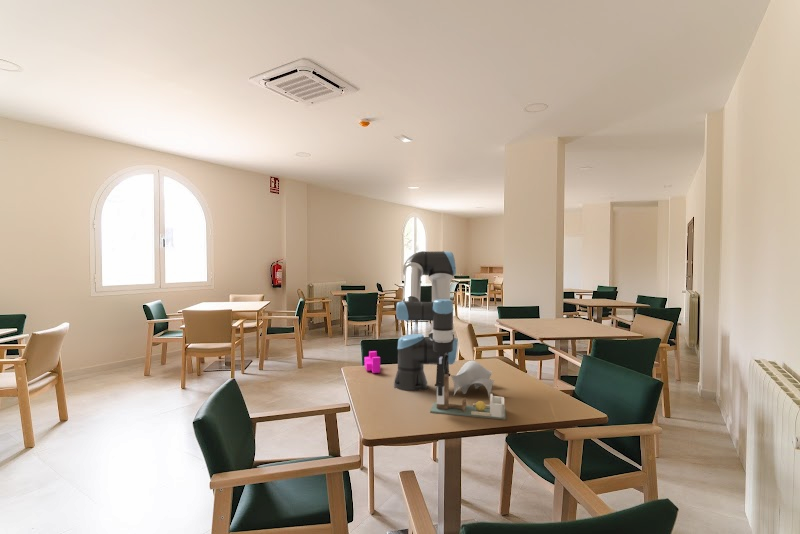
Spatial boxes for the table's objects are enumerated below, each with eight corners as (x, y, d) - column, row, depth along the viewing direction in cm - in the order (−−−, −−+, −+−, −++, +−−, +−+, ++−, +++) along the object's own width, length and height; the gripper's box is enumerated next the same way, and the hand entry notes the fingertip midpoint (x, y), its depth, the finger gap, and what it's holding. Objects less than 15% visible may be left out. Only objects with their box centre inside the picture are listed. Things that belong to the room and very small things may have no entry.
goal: (489, 416, 142) (489, 401, 142) (490, 407, 150) (490, 393, 150) (504, 417, 141) (504, 402, 141) (504, 408, 149) (504, 394, 149)
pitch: (430, 412, 147) (430, 408, 147) (434, 403, 156) (434, 399, 156) (505, 419, 140) (505, 415, 140) (505, 410, 149) (505, 406, 149)
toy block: (364, 365, 213) (364, 351, 213) (376, 364, 214) (376, 350, 214) (367, 373, 198) (367, 358, 198) (380, 372, 200) (380, 357, 200)
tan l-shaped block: (436, 408, 148) (436, 376, 148) (438, 403, 154) (438, 372, 153) (464, 411, 146) (464, 378, 145) (466, 406, 151) (466, 374, 151)
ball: (475, 412, 146) (475, 402, 146) (475, 408, 149) (475, 399, 149) (485, 413, 145) (485, 403, 145) (485, 409, 148) (485, 400, 148)
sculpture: (497, 399, 162) (497, 375, 162) (450, 397, 164) (450, 373, 164) (490, 380, 187) (490, 360, 187) (449, 379, 189) (449, 358, 189)
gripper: (449, 347, 138) (448, 410, 138) (456, 335, 160) (456, 389, 161) (427, 346, 139) (427, 408, 140) (437, 334, 162) (437, 387, 163)
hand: (442, 398), depth 150 cm, fingers open, 11 cm apart
